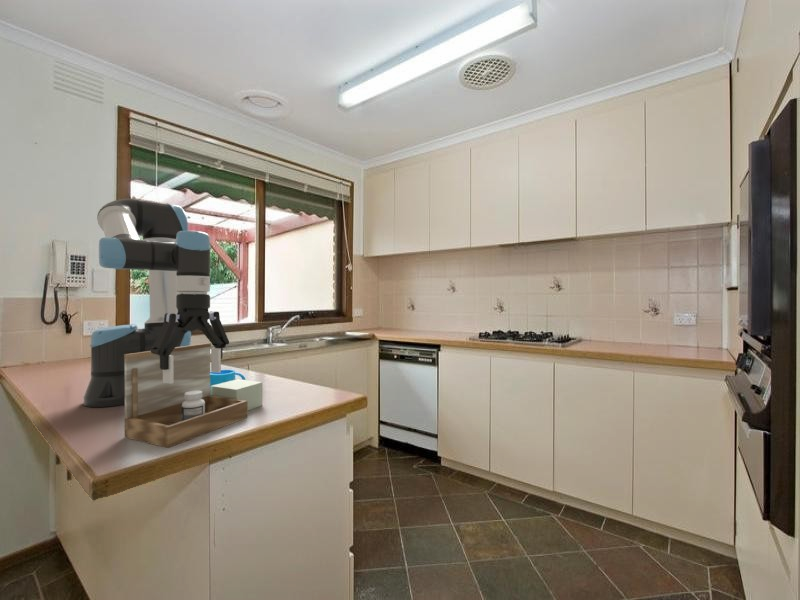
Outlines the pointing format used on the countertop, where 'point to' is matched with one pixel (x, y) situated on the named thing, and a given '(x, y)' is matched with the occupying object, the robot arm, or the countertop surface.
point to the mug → (223, 377)
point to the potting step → (240, 391)
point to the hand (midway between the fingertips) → (193, 377)
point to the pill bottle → (192, 405)
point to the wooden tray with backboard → (173, 397)
